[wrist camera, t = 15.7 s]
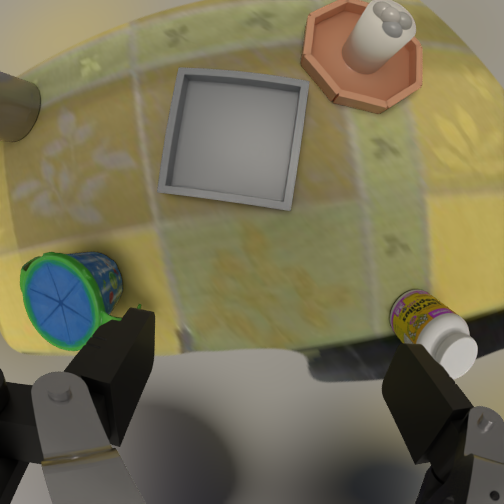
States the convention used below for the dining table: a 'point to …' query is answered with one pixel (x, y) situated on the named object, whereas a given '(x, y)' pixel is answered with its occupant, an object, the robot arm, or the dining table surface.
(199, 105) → the parts tray
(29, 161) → the dining table surface
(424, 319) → the supplement bottle
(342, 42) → the orange shallow octagonal tray
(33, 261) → the snack cup
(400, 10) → the pebble jar
